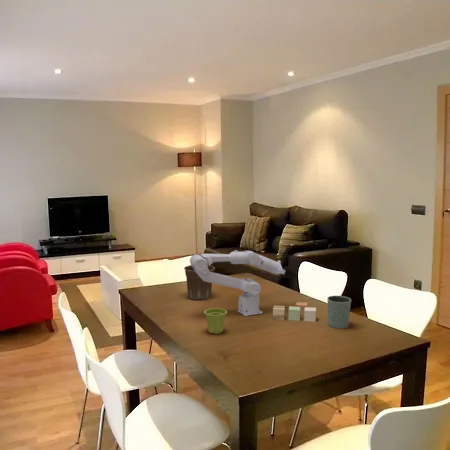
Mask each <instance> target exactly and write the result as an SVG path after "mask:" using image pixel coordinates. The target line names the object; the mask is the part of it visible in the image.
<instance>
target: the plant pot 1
mask: <svg viewBox="0 0 450 450" xmlns="http://www.w3.org/2000/svg"><path fill="white" fill-rule="evenodd" d="M208 269H209V271H210V272H213V273H215V269H216V267H214V266H213V265H210V266H209V265H208ZM184 273H185V277H186V288H187V297H188V298H189V300H192V299H194V301H199V300H201V301H204V299H206V300H209V299H210V298H211V297H212V286H213V283H210V282H205V281H203V280H202V279H201V278H200V276H199V275H198V274H197V273H196V272H195V271H194V270H193V268H192V266H191V264H190V265H187V266H185V267H184ZM208 298H209V299H208Z"/></svg>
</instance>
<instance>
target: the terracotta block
mask: <svg viewBox="0 0 450 450" xmlns="http://www.w3.org/2000/svg"><path fill="white" fill-rule="evenodd" d="M295 305H296V306H295V307H300V317H301V316H302V317H304V310H305V307H308V302H307V301H306V302H305V301H303V302H302V301H297V302H296V304H295Z"/></svg>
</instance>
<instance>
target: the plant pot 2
mask: <svg viewBox="0 0 450 450" xmlns="http://www.w3.org/2000/svg"><path fill="white" fill-rule="evenodd" d="M203 313H204V315H205V317H206V322H207V323H206V324H207V331H208V333H210V334H214V335H218V334H221V333H222V332H224V326H225V318H226V315H227V313H228V311H227V310H226V309H224V308H217V307H213V308H208V309H206V310H204V312H203Z"/></svg>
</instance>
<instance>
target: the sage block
mask: <svg viewBox="0 0 450 450" xmlns="http://www.w3.org/2000/svg"><path fill="white" fill-rule="evenodd" d="M288 321H296V322H300V321H301V316H300V307H296V306H288Z"/></svg>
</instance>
